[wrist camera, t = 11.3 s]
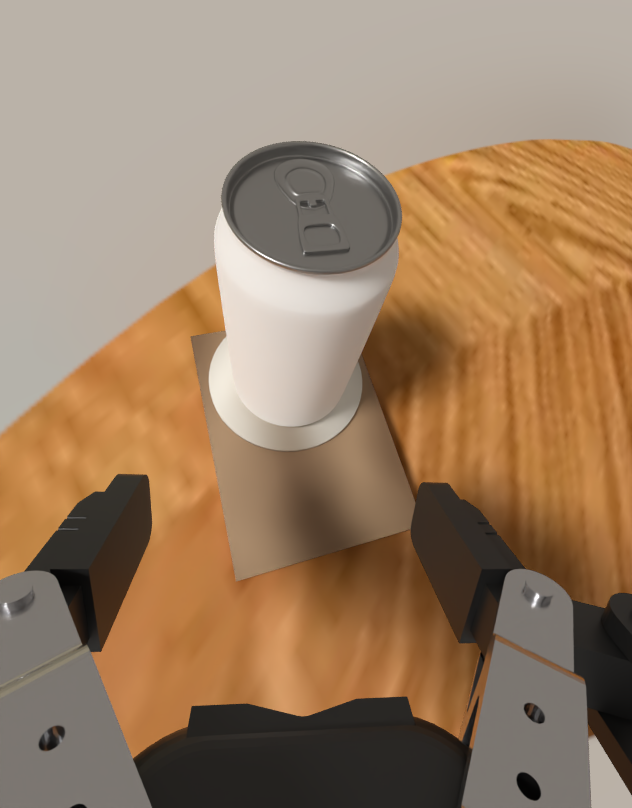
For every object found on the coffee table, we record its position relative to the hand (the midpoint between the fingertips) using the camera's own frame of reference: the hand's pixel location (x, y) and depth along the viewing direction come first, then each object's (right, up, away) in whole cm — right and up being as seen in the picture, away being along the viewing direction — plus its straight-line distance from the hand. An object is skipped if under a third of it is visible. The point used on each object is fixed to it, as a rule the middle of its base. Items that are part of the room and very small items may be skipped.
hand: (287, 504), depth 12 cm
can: (-1, +4, +12) cm, 12 cm away
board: (0, +1, +12) cm, 12 cm away
